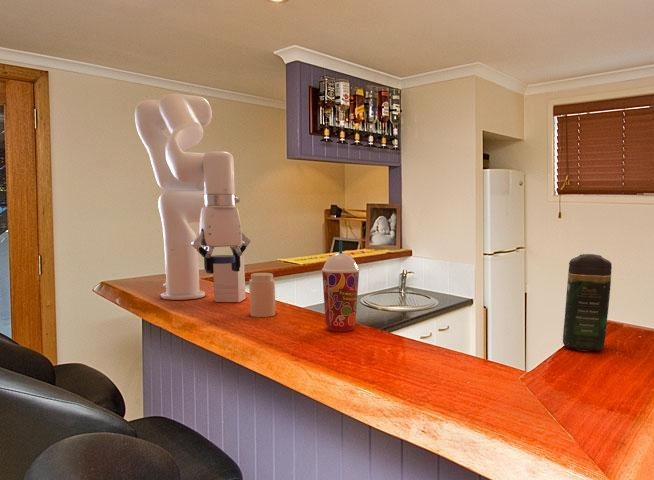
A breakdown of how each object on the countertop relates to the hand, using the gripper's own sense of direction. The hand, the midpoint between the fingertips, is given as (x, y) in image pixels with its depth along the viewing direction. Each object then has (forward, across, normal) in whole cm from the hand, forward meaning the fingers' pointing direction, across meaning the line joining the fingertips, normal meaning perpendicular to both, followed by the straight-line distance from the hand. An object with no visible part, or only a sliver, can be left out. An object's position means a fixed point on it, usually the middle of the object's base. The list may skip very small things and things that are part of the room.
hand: (222, 271), depth 144 cm
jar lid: (-4, 0, 0) cm, 4 cm away
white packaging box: (+11, -9, -14) cm, 20 cm away
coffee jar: (+11, -41, +77) cm, 88 cm away
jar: (+11, -6, +10) cm, 16 cm away
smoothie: (+11, -12, +35) cm, 38 cm away
